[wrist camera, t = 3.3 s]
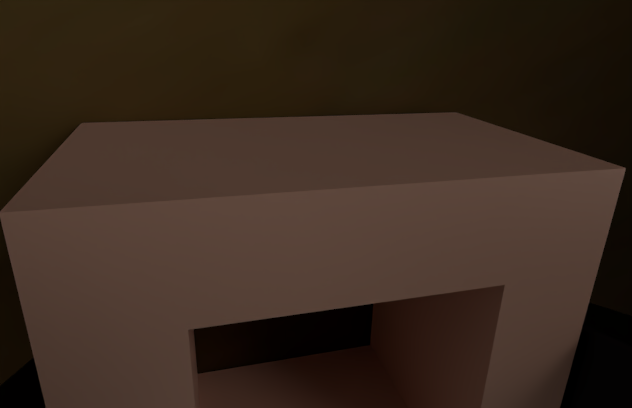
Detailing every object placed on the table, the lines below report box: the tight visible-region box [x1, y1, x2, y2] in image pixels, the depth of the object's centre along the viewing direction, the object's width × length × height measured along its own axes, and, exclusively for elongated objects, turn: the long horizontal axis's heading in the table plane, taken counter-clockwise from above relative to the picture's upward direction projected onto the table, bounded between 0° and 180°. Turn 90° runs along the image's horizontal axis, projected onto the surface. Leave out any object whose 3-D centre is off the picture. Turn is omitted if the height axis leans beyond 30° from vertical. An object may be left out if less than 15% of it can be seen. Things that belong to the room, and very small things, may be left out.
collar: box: [0, 112, 626, 408], centre depth 8 cm, size 7×7×4 cm
